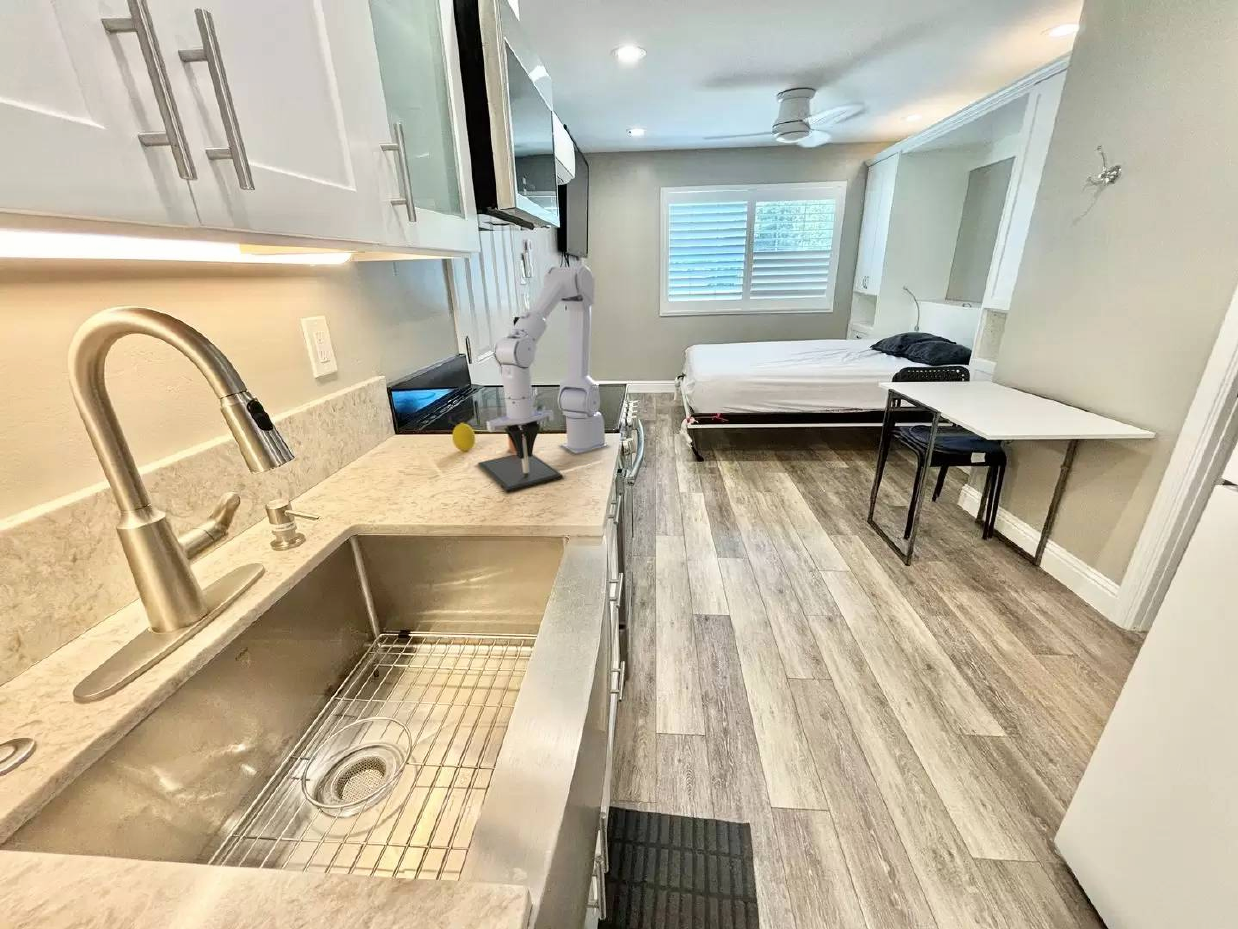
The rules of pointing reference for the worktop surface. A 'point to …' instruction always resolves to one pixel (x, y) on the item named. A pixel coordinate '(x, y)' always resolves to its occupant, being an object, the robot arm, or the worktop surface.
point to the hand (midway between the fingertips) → (524, 456)
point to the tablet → (519, 472)
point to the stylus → (525, 457)
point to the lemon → (463, 437)
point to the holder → (511, 445)
